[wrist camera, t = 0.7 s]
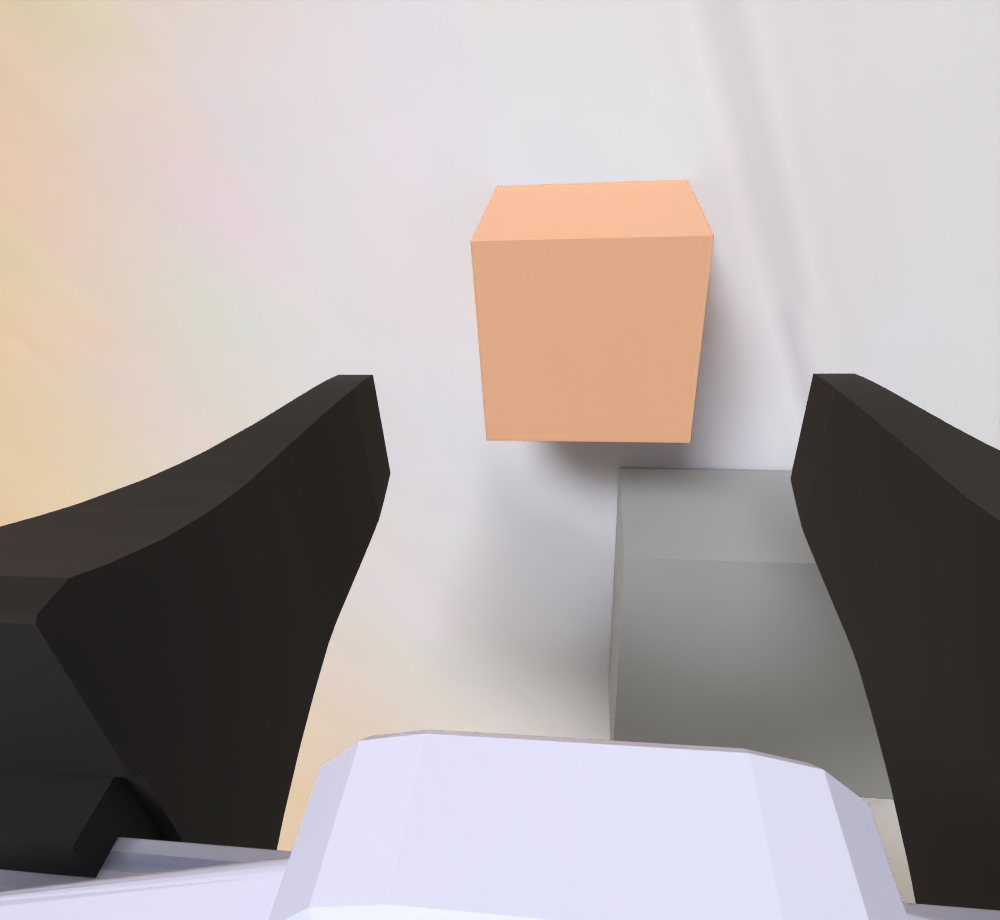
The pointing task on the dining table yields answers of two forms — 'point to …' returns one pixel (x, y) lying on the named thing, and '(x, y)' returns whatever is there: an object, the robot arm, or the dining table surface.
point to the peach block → (591, 310)
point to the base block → (732, 627)
